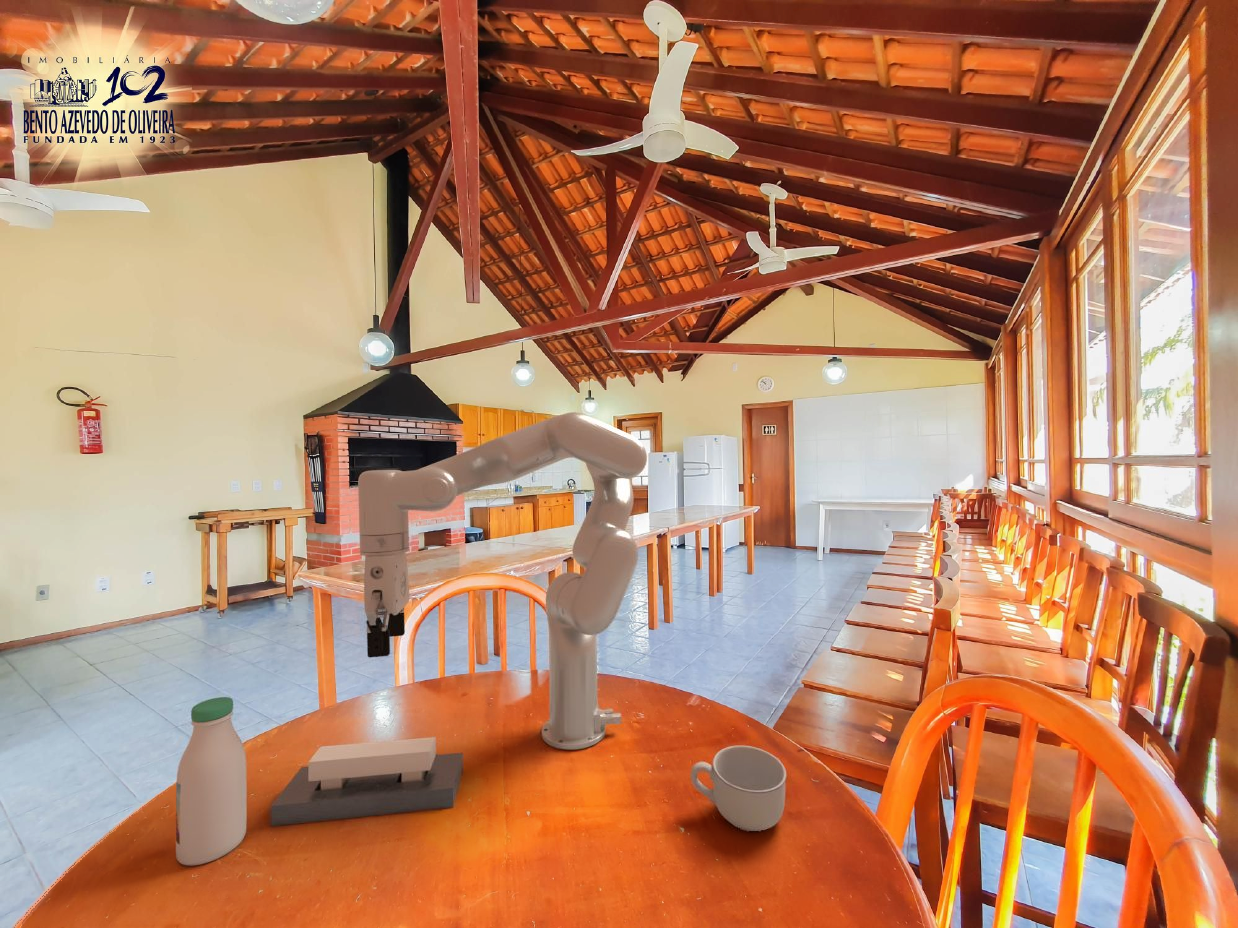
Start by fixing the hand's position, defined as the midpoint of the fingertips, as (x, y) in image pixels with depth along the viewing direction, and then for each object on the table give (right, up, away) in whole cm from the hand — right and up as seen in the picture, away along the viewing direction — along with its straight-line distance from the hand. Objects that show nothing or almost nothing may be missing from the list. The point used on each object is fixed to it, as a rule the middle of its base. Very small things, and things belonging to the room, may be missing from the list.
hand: (387, 645), depth 85 cm
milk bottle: (-18, -23, -14) cm, 33 cm away
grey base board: (-1, -23, -3) cm, 23 cm away
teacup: (+57, -23, -8) cm, 62 cm away
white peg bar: (-1, -23, -3) cm, 23 cm away
